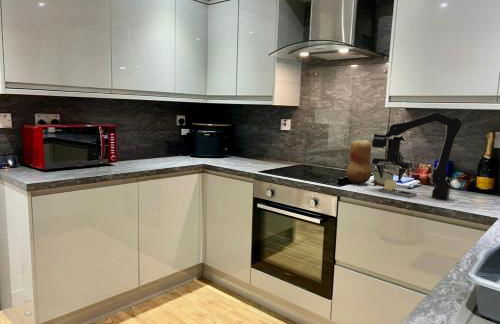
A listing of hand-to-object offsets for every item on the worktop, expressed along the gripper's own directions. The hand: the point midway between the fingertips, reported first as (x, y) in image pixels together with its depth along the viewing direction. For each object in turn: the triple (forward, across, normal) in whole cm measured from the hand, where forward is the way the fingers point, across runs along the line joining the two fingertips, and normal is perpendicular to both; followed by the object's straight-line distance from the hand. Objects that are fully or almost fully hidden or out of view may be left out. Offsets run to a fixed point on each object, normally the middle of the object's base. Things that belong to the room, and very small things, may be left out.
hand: (390, 179), depth 187 cm
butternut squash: (+7, +23, -10) cm, 26 cm away
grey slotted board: (+7, -4, 0) cm, 8 cm away
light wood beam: (+6, 0, 0) cm, 6 cm away
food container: (+7, +9, -14) cm, 18 cm away
